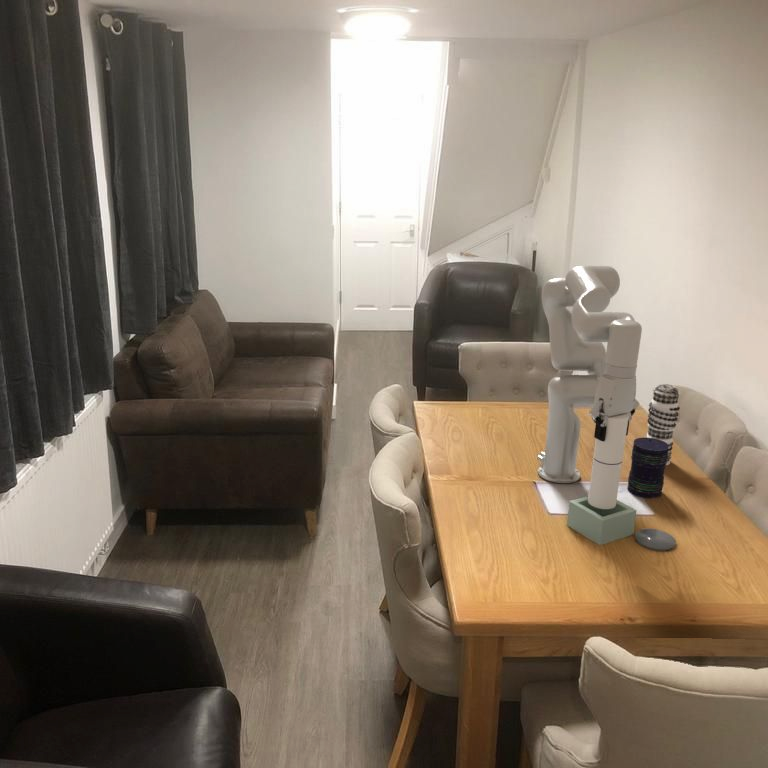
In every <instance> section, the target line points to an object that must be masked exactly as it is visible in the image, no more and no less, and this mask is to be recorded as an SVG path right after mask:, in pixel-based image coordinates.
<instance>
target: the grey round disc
mask: <svg viewBox="0 0 768 768" xmlns="http://www.w3.org/2000/svg"><path fill="white" fill-rule="evenodd" d="M634 540H635V542H636V543H637V544H638V545H640V546H641V547H643V548H646V549H649V550H652V551H656V552H659V551H660V552H666V551H667V552H668V551H671V550H674V548H676V544H677V540H676V538H675V537H674V536H673V535H672V534H670V533H668V532H666V531H663V530H660V529H656V528H655V529H654V528H642V529H639V530H636V532H635V533H634Z"/></svg>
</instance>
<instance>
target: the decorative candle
mask: <svg viewBox="0 0 768 768" xmlns="http://www.w3.org/2000/svg"><path fill="white" fill-rule="evenodd" d="M652 391H653V394H652V398H651V402H649V404H648V407H649V408H648V410H647V411H648V415H647V417H648V419H647V420H646V421H647V427H648V428H647V429H648V430H647V433H646V437H645V438H654V439H658V440H661V441H664V442H666V443H667V444H668V445H669V449H668V458H667V463H666V465H665V467H666V466H669V465H670V464H671V459H672V454H673V453H672V449H673V445H674V442H673V440H674V439H673V438H674V437H673V436H674V431H675V430H676V427H677V423H676V422H677V421H679V419H678V416H679V412H677V411H679V410H680V408H681V407H680V406H679V398H680V395H681V391H679V390H678V388H677V387H676V386H674V385H671V384H668V383H667V384H666V383H664V384H659V385H657V386H656V387H654V388H653V389H652Z"/></svg>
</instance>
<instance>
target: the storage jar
mask: <svg viewBox="0 0 768 768" xmlns="http://www.w3.org/2000/svg"><path fill="white" fill-rule="evenodd" d="M668 449H669V445H668V444H667V443H666V442H664V441H661V440H658V439H654V438H646V437H638V438H636V439H634V440H633V444H632V449H631V450H632V451H631V456H630V457H631V459H630V460H631V466H630V470H629V473H628V477H627V486H626V487H627V488H626V489H627V492H628V493H630V494H631V495H632V496H635V497H638V498H642V499H650V500H651V499H657V498H660V497H661V496H662V494H663V492H662V490H663V487H664V485H665V484H664V482H665V481H664V480H665V476H664V474H665V470H666V469H665V467H666V466H667V465H666V463H667V458H668ZM665 465H666V466H665Z"/></svg>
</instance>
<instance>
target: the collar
mask: <svg viewBox="0 0 768 768" xmlns="http://www.w3.org/2000/svg"><path fill="white" fill-rule="evenodd" d="M567 511H568V512H567V518H566V526H568V527H569V528H571V529H572V530H573V531H575V532H577V533H579V534H580V535H582V536H584V537H586V538H587V539H588V540H590V541H591V542H593V543H595V544H597V545H598V546H602V545H605V544H608V543H611V542H614V541H618V540H620V539H624V538H626V537H629V536H633V535H634V531H635V525H636V517H637V510H636V509H635V508H633V507H631V506H629V505H627V504H626V503H623V502H622V501H620V500H618V499H617V501H616V506H615V507H614V508H612V509H600V508H596V507H594V506H592V505H590V504H589V503H588V495H587V496H583V497H579V498H576V499H573V500H569V501H568V508H567Z"/></svg>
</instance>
